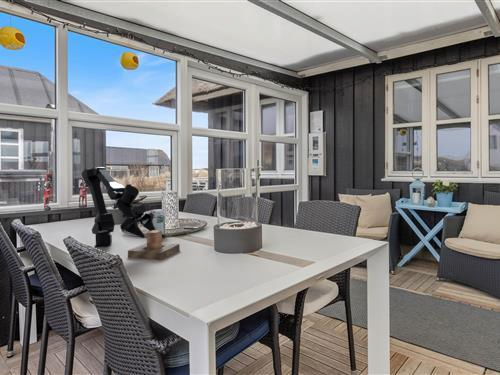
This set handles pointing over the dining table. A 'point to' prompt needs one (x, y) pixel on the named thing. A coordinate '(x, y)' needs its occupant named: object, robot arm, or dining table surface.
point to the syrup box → (159, 220)
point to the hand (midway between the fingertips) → (150, 235)
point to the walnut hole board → (153, 251)
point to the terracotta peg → (154, 239)
